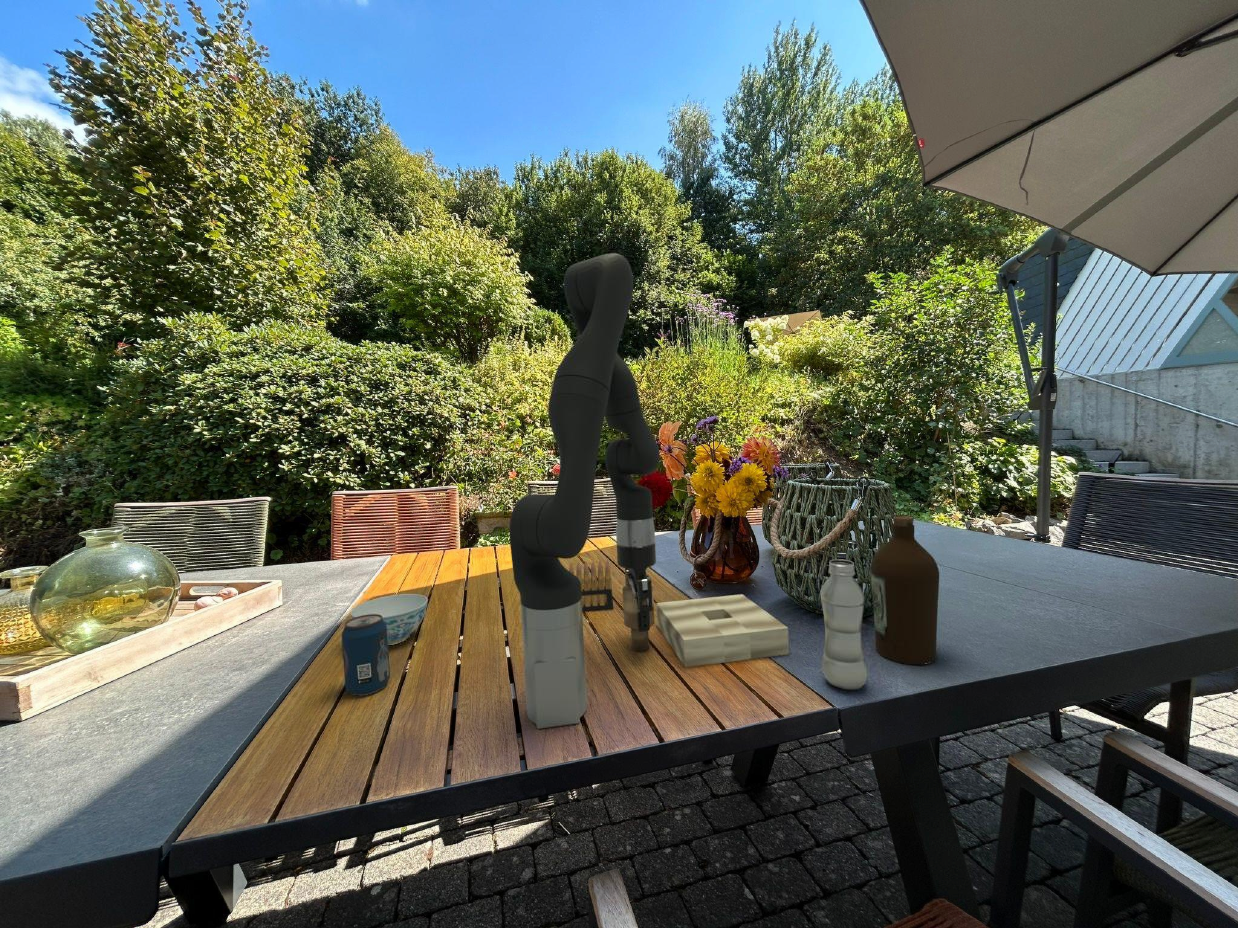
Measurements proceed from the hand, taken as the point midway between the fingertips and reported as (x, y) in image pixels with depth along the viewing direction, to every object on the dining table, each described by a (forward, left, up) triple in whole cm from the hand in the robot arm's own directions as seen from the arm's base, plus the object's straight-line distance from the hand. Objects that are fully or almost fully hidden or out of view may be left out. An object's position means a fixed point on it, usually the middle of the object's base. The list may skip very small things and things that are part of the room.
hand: (639, 622), depth 94 cm
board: (0, -16, -5) cm, 17 cm away
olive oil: (-15, -46, -5) cm, 49 cm away
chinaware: (+18, +51, -5) cm, 54 cm away
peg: (0, 0, -5) cm, 5 cm away
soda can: (-3, +49, -5) cm, 49 cm away
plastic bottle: (-22, -29, -5) cm, 37 cm away
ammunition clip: (+24, +7, -5) cm, 26 cm away
